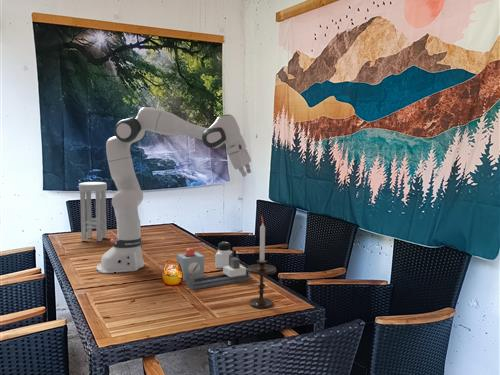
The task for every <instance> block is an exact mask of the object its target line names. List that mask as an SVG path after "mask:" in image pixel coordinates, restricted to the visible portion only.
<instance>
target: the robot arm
mask: <svg viewBox="0 0 500 375" xmlns="http://www.w3.org/2000/svg"><path fill="white" fill-rule="evenodd" d="M113 131H114V136H112V137H109V138H108V139H107V141H106V143H105V148H106V150H105V151H106V157H107V158H106V159H107V162H108V167H109V173H110V176H111V179H112V180H113V182H114V184H115V187H116V189H117V191H116V192H115V193H114V194H113V196H112V198H111V205H112V207H113V209H114V215H115V221H116V238H115V239H114V238H111V239H110V242H111V243H112V247H111V248H110V249H108V250H107V251H106V252H105V253H103V254H102V256H101V260H100V263H98V264H97V265H96V271H97V270H98V271H97V272H98V273H100V274H113V273H114V272H116V273H124V272H125V273H126V272H135V271H138V270H139V269H141V268H143V267H144V266H145V263H144V259H143V253H142V247H143V240H142V237H141V236H142V235H141V232H142V231H141V220H140V218H139V213H138V207H139V206H140V205H141V204H142V202H143V200H144V192H143V191H142V189H141V186H140V183H139V180H138V178H137V176H136V172H135V168H134V164H133V163H134V162H133V158H132V154H131V145H134V144H136V143H138V142H140V141H141V140H143V139H144V138H145V137H146V134H147V131H149V132H153V133H156V134H159V135H164V136H172V137H174V136H187V137H190V138H194V139H198V140H201V141H202V143H203V145H204V146H205V147H206V148H209V149H216V148H217V149H219V148H221V147H223V146H224V145H225V146H226V147H225V148H226V149H225V153H226V155H227V156H228V158H229V160H230V163H231V165H232V166H233V168H234V170H238V171H239V173H240V174H241V176H242V178H244V177H247V174H251V173H252V169H251V165H250V164H251V162H252V160H251V156H250V153H249V152H248V149H247V144H246V142H245V139H244V136H243V135H242V134H241V129H240V126H239V124H238V122H237V119H236V118H235V117H234V115H232V114H222V115H219V116H217V117H216V119H215V121H214V122H213V123H212V124H211V125H210V126H209V127H205V126H201V125H198V124H194V123H191V122H188V121H187V120H185V119H183V118H182V117H179V116H178V115H176V114H174V113H172V112H169V111H166V110H163V109H159V108H156V107H147V106H145V107H141V108H140V109H139V110H138V112H137V115H136V117H134V116H133V117H129V118H125V119H124V118H122V119H121V120H119V121H118V122H117V123H116V124H115V125H114V129H113ZM244 167H245V168H246V169H245V168H244ZM245 170H246V171H245ZM114 274H115V273H114Z"/></svg>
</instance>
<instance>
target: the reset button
mask: <svg viewBox="0 0 500 375" xmlns="http://www.w3.org/2000/svg"><path fill="white" fill-rule="evenodd" d="M195 252H196V249H195V247H187V248H185V253H186V257H193V256H195Z"/></svg>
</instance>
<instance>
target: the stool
mask: <svg viewBox="0 0 500 375" xmlns="http://www.w3.org/2000/svg"><path fill="white" fill-rule="evenodd" d="M78 190H79V195H80V196H79V197H80V198H79V201H80V233H81V234H80V236H81V242H82V241H86V240H87V241H88V239H87V237H92V238H93V229H94V230H96V231H95V232H96V242H97V241H103V239H102V238H106V237H107V236H108V235H107V234H108V232H107V231H108V230H107V194H106V193H107V192H106V191H107V190H108V184H107V182H104V181H103V182H102V181H87V182H85V181H84V182H81V183H78ZM92 192H94V193H95V218H93V216H92V213H93V212H92ZM107 238H108V237H107ZM107 238H106V239H107ZM87 241H86V242H87Z"/></svg>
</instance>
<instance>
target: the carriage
mask: <svg viewBox="0 0 500 375" xmlns="http://www.w3.org/2000/svg"><path fill="white" fill-rule="evenodd" d="M240 261H241V259H240V258H238V257H236V256H234V257H233V258H230V266H223V268H222V274H226V275H227V276H229V277H235V276H241V275H246V268H247V267H246V266H243V265H241V264H240V263H241V262H240Z"/></svg>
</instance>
